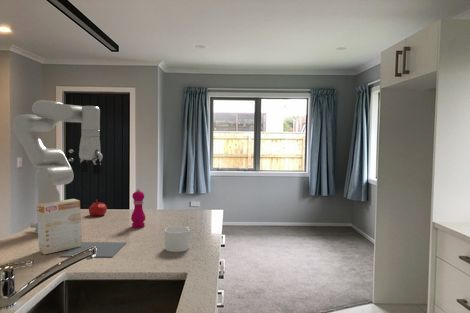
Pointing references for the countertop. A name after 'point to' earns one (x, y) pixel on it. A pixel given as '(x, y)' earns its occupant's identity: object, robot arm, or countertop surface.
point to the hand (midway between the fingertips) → (90, 172)
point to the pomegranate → (97, 209)
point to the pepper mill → (138, 210)
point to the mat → (102, 248)
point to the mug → (177, 239)
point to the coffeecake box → (59, 225)
